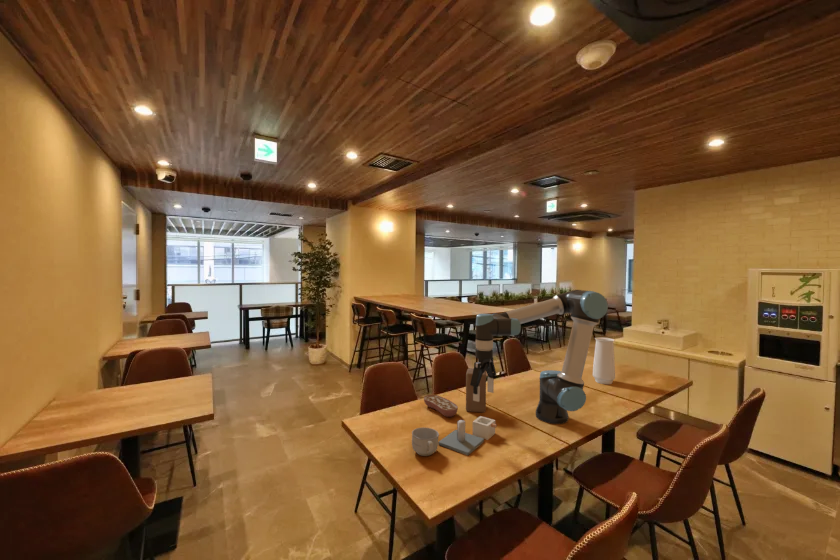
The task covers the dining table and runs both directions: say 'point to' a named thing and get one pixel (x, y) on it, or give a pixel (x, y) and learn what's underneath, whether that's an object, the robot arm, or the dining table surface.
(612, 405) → the dining table surface
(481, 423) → the white square sleeve
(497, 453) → the dining table surface
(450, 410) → the anatomical model
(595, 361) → the vase
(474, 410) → the wooden block
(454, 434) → the board
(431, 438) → the teacup
